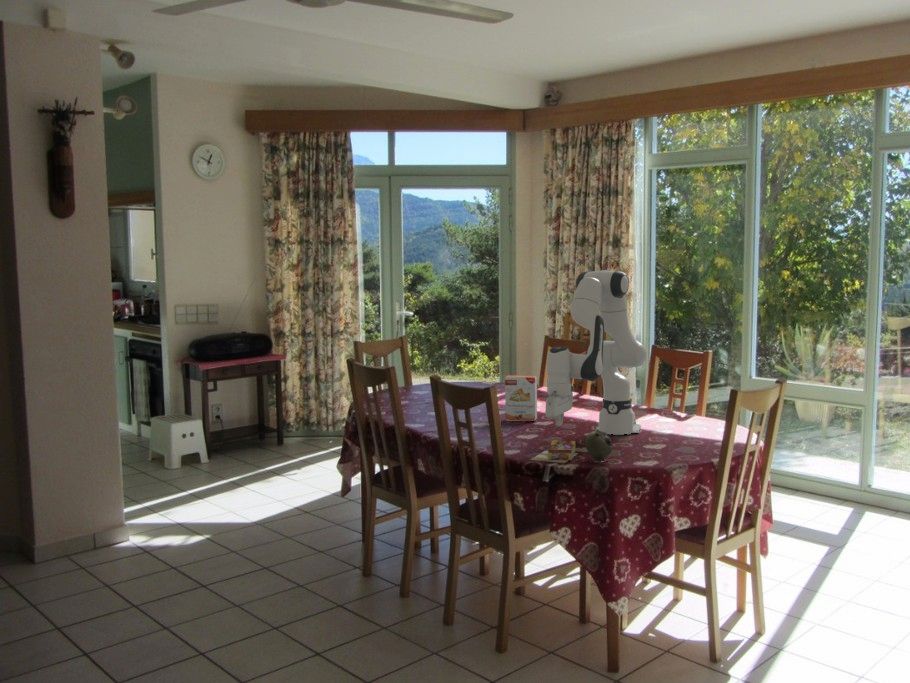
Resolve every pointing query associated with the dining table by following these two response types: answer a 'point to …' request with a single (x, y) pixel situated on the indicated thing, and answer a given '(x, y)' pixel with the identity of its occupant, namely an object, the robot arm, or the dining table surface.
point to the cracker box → (521, 397)
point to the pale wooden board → (544, 457)
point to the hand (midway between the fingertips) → (559, 425)
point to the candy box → (561, 450)
